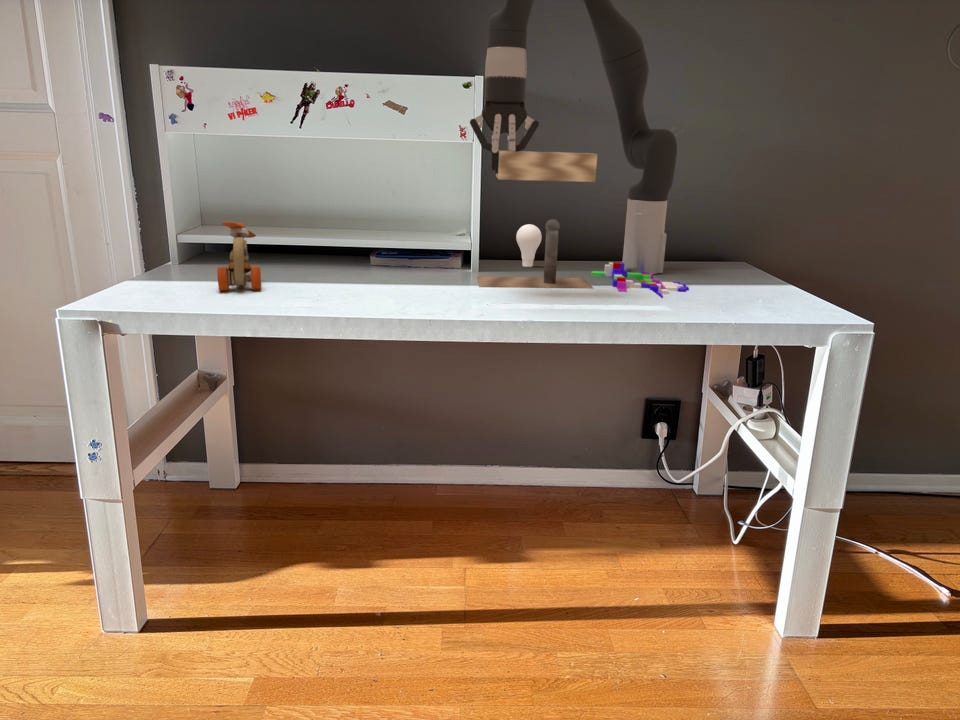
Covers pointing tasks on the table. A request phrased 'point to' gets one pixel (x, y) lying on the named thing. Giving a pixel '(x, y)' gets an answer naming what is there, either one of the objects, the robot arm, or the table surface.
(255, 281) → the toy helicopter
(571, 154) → the open wooden box
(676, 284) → the building block set
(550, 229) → the walnut post stand
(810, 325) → the table surface
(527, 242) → the lightbulb
